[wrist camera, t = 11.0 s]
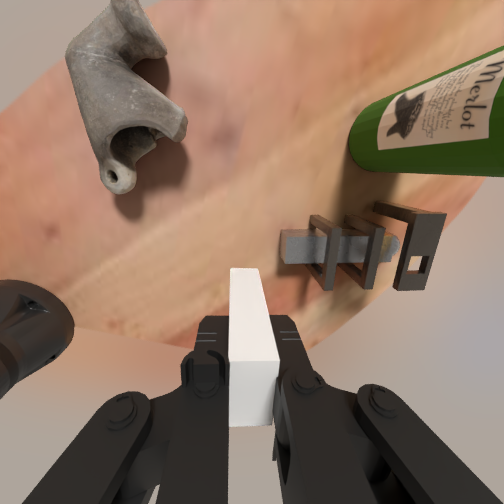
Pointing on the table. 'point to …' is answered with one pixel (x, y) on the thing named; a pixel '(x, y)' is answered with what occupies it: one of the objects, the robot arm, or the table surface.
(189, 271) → the table surface
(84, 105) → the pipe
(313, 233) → the grey sharpening stone
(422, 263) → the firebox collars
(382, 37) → the table surface
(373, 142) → the wine bottle
